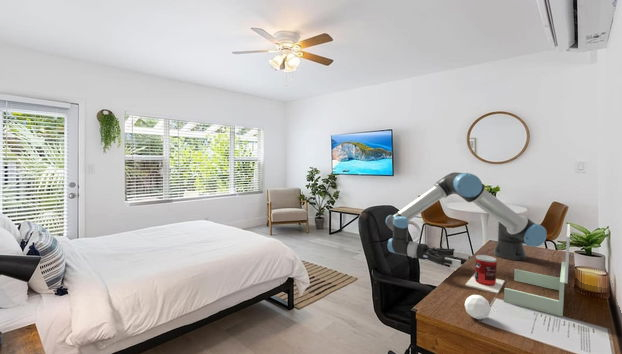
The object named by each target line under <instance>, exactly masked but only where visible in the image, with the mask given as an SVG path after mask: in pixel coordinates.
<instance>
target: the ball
mask: <svg viewBox="0 0 622 354" xmlns="http://www.w3.org/2000/svg"><path fill="white" fill-rule="evenodd" d="M464 308H465V312H466V313H467V314H468V315H469V316H471V318H473V319H476V320H483V319H486V318H487V317H489V315H490V314H491V309H492V308H491V306H490V303H489V300H488V299H486V298H485V297H484V296H482V295H480V294H472V295H470V296H468V297H467V298H465V302H464Z"/></svg>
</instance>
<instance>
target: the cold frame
mask: <svg viewBox="0 0 622 354" xmlns="http://www.w3.org/2000/svg"><path fill="white" fill-rule="evenodd" d="M566 228H567V230H566V243H565V244H566V245H565V247H566V248H565V261H561V267H560V268H561V269H560V276H559V277H557V276H554V275H553V276H552V275H548V274H544V273H543V274H541V273H538V272H531V271H527V270H522V269H517V268H514V271H513V272H514V273H513V274H514V275H513V277H514V278H513V280H514V281H515V282H520V283H524V284H528V285H533V286H538V287H542V288H545V289H551V290H555V291H559V293H558V299H555V298H551V297H546V296H543V295H542V296H541V295H537V294H534V293H529V292H525V291H521V290H516V289H513V288H508V287H504V289H503V290H504V292H503V294H504V295H503V302H504V303H509V304H513V305H515V306H516V305H517V306H520V307H524V308H527V309H532V310H536V311H539V312H543V313H547V314H551V315H554V316H558V317H562V318H563V316H564V315H563V314H564V302H565V301H564V299H565V284H568V283H569V282H568V281H569V280H568V278H569V262H570V259H569V258H570V244H571V243H570V242H571V224H570V223H567V227H566Z"/></svg>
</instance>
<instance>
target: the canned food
mask: <svg viewBox="0 0 622 354" xmlns="http://www.w3.org/2000/svg"><path fill="white" fill-rule="evenodd" d="M497 261H498V260H497V257H496V258H495V257H494V256H490V255H487V254H486V255H485V254H477V255H476V256H475V265H474V266H475V268H474V270H475V272H474V274H475V280H476V282H478V283H479V284H482V285H487V286H493V285H495V283H496V279H497V266H498V265H497V264H498V263H497Z"/></svg>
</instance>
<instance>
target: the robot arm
mask: <svg viewBox="0 0 622 354" xmlns="http://www.w3.org/2000/svg"><path fill="white" fill-rule="evenodd" d="M450 195H457V196H459V197H461V199H463V200H464V201H466V202H467V203H473V204H475V205H476V206H477V207H479V208H480V210H483V211H484V212H485V213H487V214H488V216H489V215H490V216H491V217H492V218H493V219H495V220H496V221H497V222H498V227H497V228H498V231H497V232H498V234H497V236H498V237H497V243H496V245H495V247H494V250H493V254H495V256H496V257H498V258H502V259H505V260H511V261H513V260H514V261H523V260H526V259H527V254H526V251H525V247H524V245H526V246H528V247H532V248H533V247H534V248H536V247H539V246H542V245H543V244H544V242H545V241H547V240H546V239H547V233H548V232H547V229H546V228H545V227H544V226H543V225H542V224H539V223H535V222H534V221H532V220H531V219H529V218H528V217H527V216H525V215H519V214H518V213H517V212H515V211H514V210H513V209H511V208H510V207H509V206H507V205H506V204H505V203H504V202H502V201H501V200H499V199H498V198H497V197H495V196H494V195H493V194H492V193H490V192H489V191H487V190H486V185H485V184H483V183H482V180H481V179H480V178H479V177H478V176H477V175H476V174H473V173H469V172H454V171H453V172H451V173H449V174H446V175H445V176H444V177H442V178H441V179H439V180H438V181H436V182H435V183H434V184H433V186H432V187H431V188H430V189H429V190H427V191H426V192H424V193H422V194H421V195H420V196H418V197H417V198H416V199H414V200H413V201H411V202H410V203H408V204H407V205H406V206H404V207H403V208H401V209H400V210H399V211H397V212H395V213H394V214H389V215H388V216H386V218H385V225H386V226H387V228H389V229H390V230H391V231H392V237H390V238H389V239H388V241H387V250H388V251H389V252H390V253H393V254H395V255H402V256H406V257H411V259H413V258H415V259H420V260H423V261H424V260H428V261H430V262H433V263H435V264H437V265H441V266H445V265H449V266H454V267H459V268H461V267H462V266H461V265H462V261H461V260H460V259H465V260H469V257H470V253H469V252H464V251H463V252H462V251H458V250H455V248H443V247H442V248H441V247H434V246H433V247H432V248H429V246H428V244H426V243H421V242H420V243H419V242H416V241H410V240H409V239H408V236H409V221H411V220H412V219H414V218H416V216H419V215H420V214H421V213H422V212H423V211H425V210H427V209H428V208H429V207H431V206H433V205H434V204H435V203H437V202H438V201H440V200H441V199H443V198H444V199H445V198H447V197H449V196H450ZM443 256H446V257H443ZM447 256H452V257H453V258H450V257H447ZM454 257H456V258H459V259H454Z"/></svg>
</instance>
